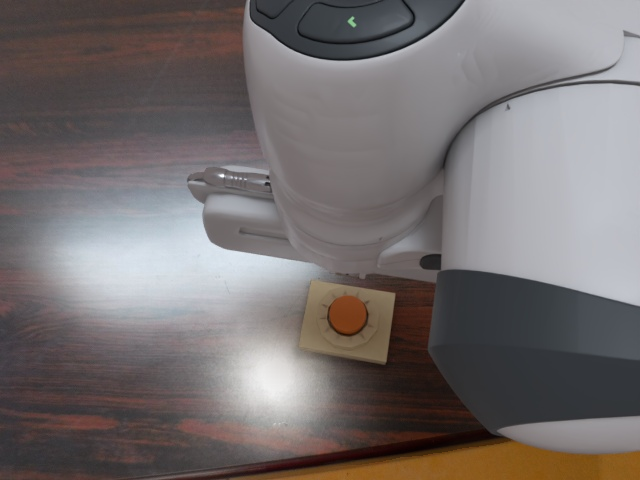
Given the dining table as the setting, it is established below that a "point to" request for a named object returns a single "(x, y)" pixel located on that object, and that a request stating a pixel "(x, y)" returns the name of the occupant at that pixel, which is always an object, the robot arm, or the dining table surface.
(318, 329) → the orange push button box
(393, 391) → the dining table surface
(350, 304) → the button
